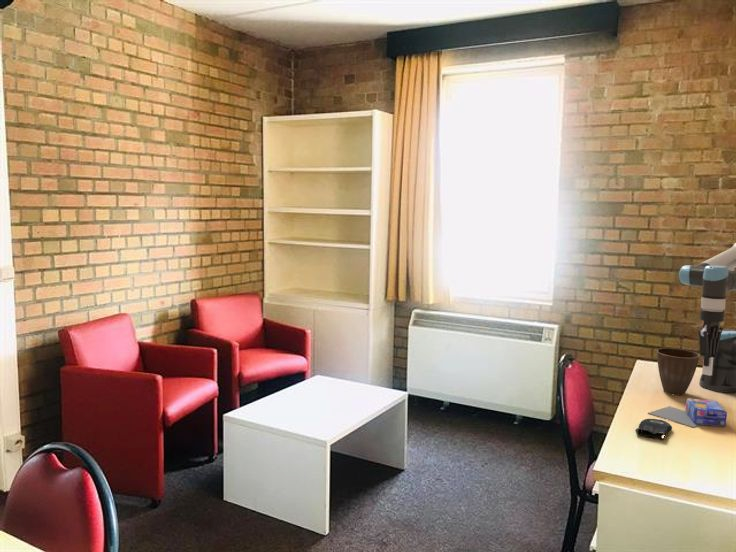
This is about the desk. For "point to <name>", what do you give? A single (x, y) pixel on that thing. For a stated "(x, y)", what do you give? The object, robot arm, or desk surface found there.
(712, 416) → the ink cartridge box
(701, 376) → the robot arm
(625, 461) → the desk surface
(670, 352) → the plant pot
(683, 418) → the mat
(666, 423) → the electronic device
